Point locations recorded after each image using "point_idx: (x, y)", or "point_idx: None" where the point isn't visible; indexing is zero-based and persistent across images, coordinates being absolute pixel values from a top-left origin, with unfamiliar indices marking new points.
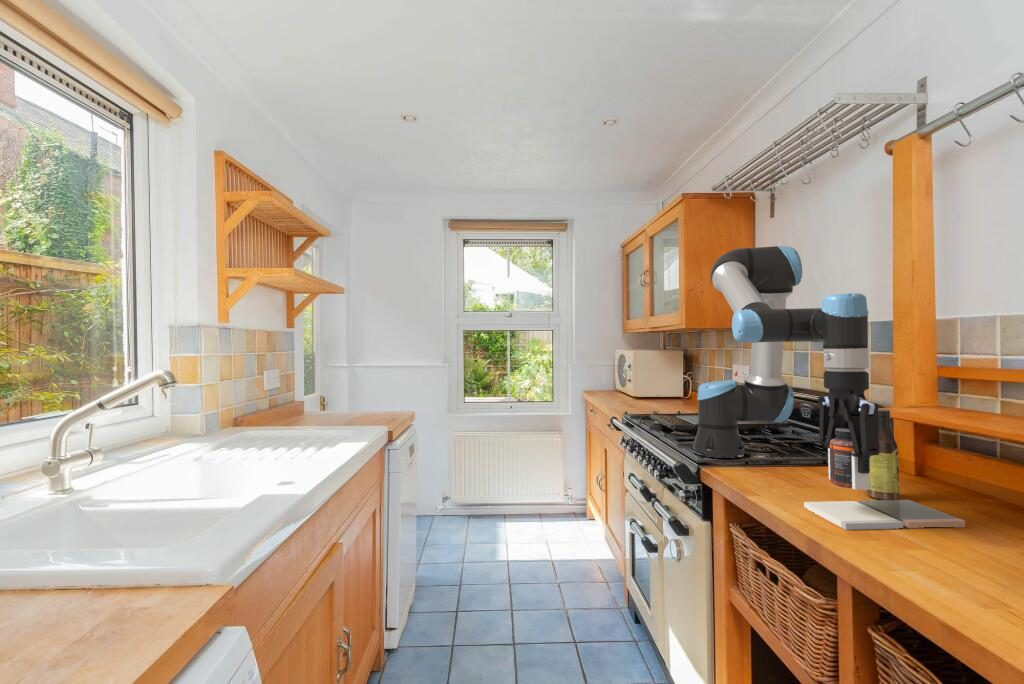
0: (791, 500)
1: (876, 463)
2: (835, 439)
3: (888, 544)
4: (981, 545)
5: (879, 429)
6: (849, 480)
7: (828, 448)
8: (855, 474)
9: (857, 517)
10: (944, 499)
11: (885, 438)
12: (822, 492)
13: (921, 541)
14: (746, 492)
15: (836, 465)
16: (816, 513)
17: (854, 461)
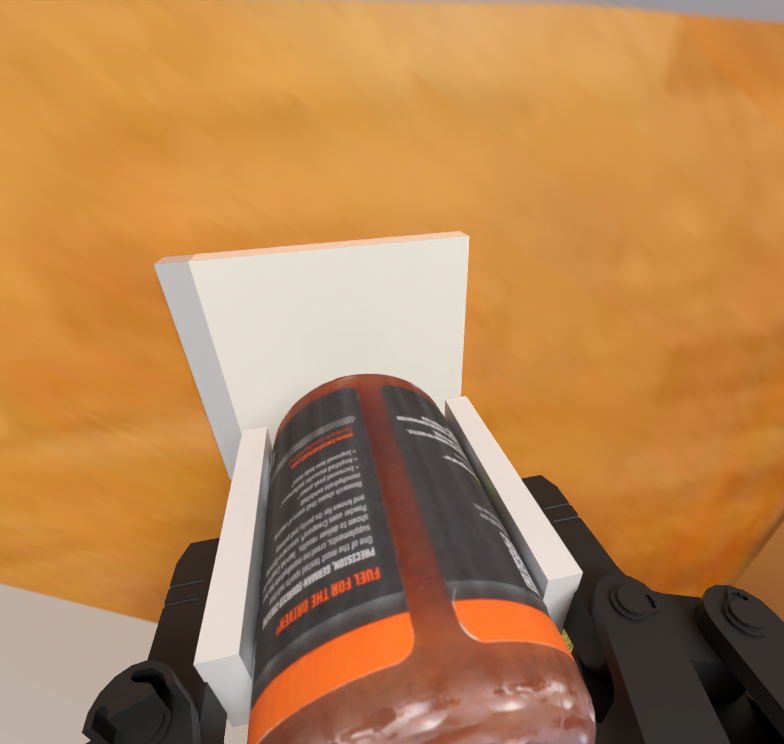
0: (557, 227)
1: (565, 633)
2: None
3: (16, 338)
4: (129, 572)
5: None
6: (277, 450)
7: (578, 572)
8: (226, 507)
9: (259, 360)
10: None
11: None
12: (603, 400)
13: (108, 458)
14: (732, 28)
15: (343, 469)
16: (370, 239)
17: (206, 605)
